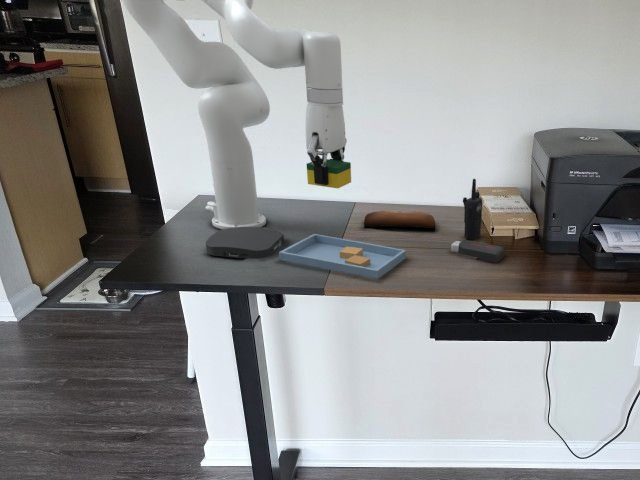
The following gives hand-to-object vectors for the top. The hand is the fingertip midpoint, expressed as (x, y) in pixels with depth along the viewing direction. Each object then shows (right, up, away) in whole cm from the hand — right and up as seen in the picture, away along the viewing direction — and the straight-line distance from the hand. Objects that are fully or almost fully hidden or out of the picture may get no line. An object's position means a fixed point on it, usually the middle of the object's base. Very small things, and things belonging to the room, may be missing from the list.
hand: (329, 180), depth 153 cm
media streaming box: (-19, -16, 0) cm, 24 cm away
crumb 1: (+5, -18, -2) cm, 18 cm away
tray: (+4, -19, -3) cm, 20 cm away
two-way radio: (+31, -9, +18) cm, 37 cm away
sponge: (0, -1, 0) cm, 1 cm away
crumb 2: (+8, -20, -6) cm, 23 cm away
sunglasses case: (+13, -6, +21) cm, 26 cm away
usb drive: (+33, -16, +6) cm, 38 cm away
